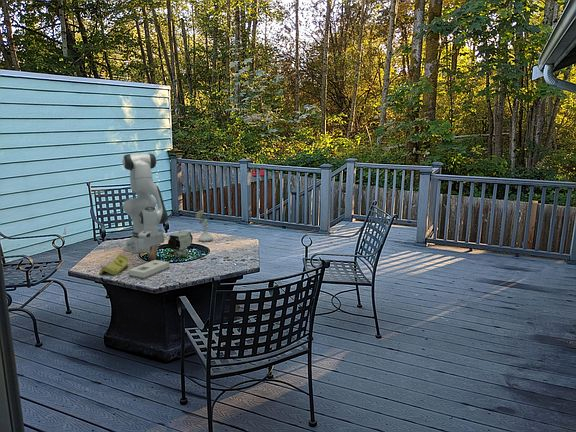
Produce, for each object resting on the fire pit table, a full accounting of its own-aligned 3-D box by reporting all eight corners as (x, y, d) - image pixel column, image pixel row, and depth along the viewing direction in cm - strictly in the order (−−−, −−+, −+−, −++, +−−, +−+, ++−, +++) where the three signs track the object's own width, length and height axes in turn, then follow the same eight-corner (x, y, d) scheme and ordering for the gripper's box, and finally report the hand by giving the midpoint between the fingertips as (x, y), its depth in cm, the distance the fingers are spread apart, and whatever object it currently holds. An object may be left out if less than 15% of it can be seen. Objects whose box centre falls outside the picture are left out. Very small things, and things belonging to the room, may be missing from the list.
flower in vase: (208, 238, 346) (207, 207, 341) (215, 240, 338) (214, 209, 332) (193, 240, 338) (192, 209, 333) (200, 243, 329) (199, 211, 324)
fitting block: (143, 279, 253) (143, 272, 252) (129, 276, 259) (128, 269, 258) (169, 268, 273) (169, 262, 272) (155, 265, 278) (154, 259, 277)
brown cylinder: (148, 260, 284) (147, 245, 282) (152, 258, 288) (152, 244, 285) (152, 261, 282) (152, 246, 280) (157, 259, 286) (156, 244, 284)
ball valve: (178, 260, 288) (176, 235, 285) (168, 259, 292) (166, 233, 288) (195, 253, 304) (194, 229, 300) (185, 252, 308) (184, 228, 304)
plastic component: (116, 272, 259) (101, 265, 259) (112, 282, 262) (98, 274, 261) (131, 259, 278) (117, 253, 278) (128, 269, 280) (114, 262, 280)
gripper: (159, 228, 291) (160, 247, 294) (135, 234, 273) (137, 255, 276) (166, 229, 288) (167, 248, 291) (143, 236, 271) (144, 257, 274)
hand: (152, 252), depth 284 cm, fingers closed on brown cylinder, 4 cm apart
